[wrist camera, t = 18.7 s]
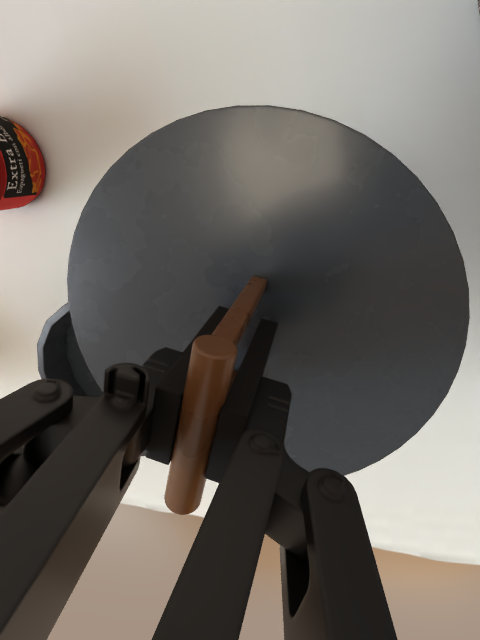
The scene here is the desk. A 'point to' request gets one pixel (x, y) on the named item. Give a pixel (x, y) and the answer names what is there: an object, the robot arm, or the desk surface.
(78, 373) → the pan
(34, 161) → the canned food
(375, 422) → the pan lid
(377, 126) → the desk surface
